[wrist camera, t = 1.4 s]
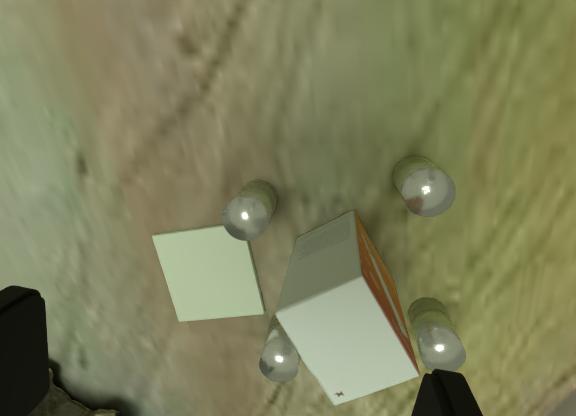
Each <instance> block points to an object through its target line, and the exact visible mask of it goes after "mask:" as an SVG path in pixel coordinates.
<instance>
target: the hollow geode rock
mask: <svg viewBox="0 0 576 416" xmlns="http://www.w3.org/2000/svg"><path fill="white" fill-rule="evenodd" d="M49 376H50V387H49V390H48V393H47V395H46V396H45V398H44V399H43V400H42V402H41V403H40V404H39V405H38V406H37V407H36V408H35V409H34V410H33V411H32V412H31V413H30V414H29V415H28V416H120V412H119V411H117V410H113V409H110V410H105V409H98V410H95V411H93V410H90V409H88V408H87V407H85V406H84V405H82V404H81V403H80V402H77V401H74V400H71V399H70V397H69V395H68V394H67V393H65V392H64V391H63V390H62V389H60V388H58V387H55V385H54V383H53V382H52V381H53V372H52V370H51V369H50V368H49Z"/></svg>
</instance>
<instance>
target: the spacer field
mask: <svg viewBox="0 0 576 416" xmlns="http://www.w3.org/2000/svg"><path fill="white" fill-rule="evenodd" d="M393 181H394V184H395V186H396V188H397V189H398V191H399V193H400V194H401V196H402V198H403V200H404V201H405V203H406V205H407V206H408V208H409V209H410V210H411V211H412V212H413V213H415V214H417V215H419V216H423V217H433V216H437V215H439V214H442V213H443V212H445V211H446V210H447V209H448V208H449V207H450V206H451V204H452V203H453V201H454V198H455V185H454V183H453V181H452V179H451V178H450V177H449V176H448V175H447V174H445V173H444V172H443V171H442V170H440V169H439V168H438V167H437V166H435V165H434V164H433V163H432V162H430V161H429V160H428V159H426V158H425V157H422V156H418V155H412V156H408V157H405V158H404V159H402V160H401V161H400V162H399V163H398V164H397V165H396V167H395V169H394V171H393ZM277 203H278V197H277V193H276V191H275V189H274V188H273V187H272V186H271V185H270V184H269V183H267V182H264V181H253V182H250V183H249V184H247V185H246V186H245V187H244V188H243V189H242V190H241V191H240V192H239V193H238V194H237V195H236V196H235V198H234V199H233V200H232V201H231V202H230V203H229V204H228V205H227V206H226V207H225V209H224V211H223V214H222V222H223V226H224V228H225V230H226V231H227V232H228V233H229V234H230V235H231V236H232V237H234V238H236V239H238V240H242V241H249V240H253V239H255V238H257V237H259V236H260V235H261V233H262V232H263V230H264V229H265V227H266V225H267V223H268V221H269V219H270V217H271V215H272V214H273V212H274V210H275V208H276V206H277ZM408 316H409V320H410V323H411V326H412V330H413V333H414V336H415V340H416V343H417V346H418V349H419V353H420V356H421V359H422V362H423V364H424V365H425V366H426V367H427V368H428V369H430V370H431V371H433V370H434V369H442V370H447V371H455V370H457V369H458V368H460V367H461V366H462V364H463V363H464V361H465V358H466V352H465V349H464V347H463V345H462V343H461V341H460V339H459V337H458V335H457V333H456V331H455V328H454V326H453V324H452V322H451V320H450V318H449V316H448V314H447V312H446V310H445V308H444V306H443V304H442V303H441V302H439V301H438V300H436V299H433V298H422V299H419V300H417V301H415V302H414V303H413V304H412V305H411V306H410V308H409V311H408ZM299 359H300V354H299V353H298V351H297V349H296V348H295V346H294V344H293V343H292V341H291V340H290V338H289V337H288V335H287V333H286V332H285V330H284V329H283V327H282V326H281V324H280V322H279V321H278V319H277V317H276V315H274V317H273V318H272V321H271V324H270V328H269V331H268V334H267V338H266V341H265V345H264V348H263V352H262V355H261V358H260V363H259V366H260V369H261V371H262V373H263V374H264V375H265V376H266V377H267V378H269V379H270V380H273V381H276V382H286V381H289V380H291V379H293V378H294V377H295V376H296V374H297V372H298V366H299Z"/></svg>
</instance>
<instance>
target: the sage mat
mask: <svg viewBox="0 0 576 416" xmlns="http://www.w3.org/2000/svg"><path fill="white" fill-rule="evenodd" d="M152 238H153V241H154V244H155V247H156V250H157V253H158V257H159V260H160V263H161V266H162V269H163V272H164V275H165V278H166V282H167V285H168V288H169V291H170V294H171V297H172V300H173V304H174V307H175V310H176V313H177V316H178V319H179V322H181V321H192V320H203V319H214V318H225V317H235V316H246V315H257V314H264V313H265V307H264V303H263V299H262V295H261V290H260V286H259V282H258V278H257V274H256V270H255V265H254V261H253V257H252V253H251V249H250V245H249V241H242V240H238V239H236V238H234V237H232V236H231V235H230V234H229V233H228V232H227V231H226V230H225V228H224V226H223V224H221V225H214V226H207V227H200V228H193V229H186V230H179V231H172V232H165V233H158V234H154V235H153V236H152Z"/></svg>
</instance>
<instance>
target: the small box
mask: <svg viewBox="0 0 576 416" xmlns="http://www.w3.org/2000/svg"><path fill="white" fill-rule="evenodd" d="M275 315H276V317H277V319H278V321H279V322H280V324H281V326H282V327H283V329H284V330H285V332H286V333H287V335H288V337H289V338H290V340H291V341H292V343H293V344H294V346H295V348H296V349H297V351H298V353H299V354H300V356H301V358H302V360H303V361H304V363H305V364H306V366H307V367H308V369H309V370H310V371H311V373H312V374H313V375H314V376H315V378H316V379H317V381H318V382H319V384H320V385H321V387H322V388H323V390H324V391H325V393H326V394H327V395H328V397H329V399H330V400H331V402H332V403H333V404H334V405H338V404H340V403H344V402H347V401H350V400H353V399H356V398H359V397H362V396H365V395H368V394H371V393H373V392H376V391H379V390H382V389H385V388H387V387H390V386H393V385H396V384H399V383H401V382H404V381H407V380H409V379H412V378H415V377H418V376H419V375H420V373H419V369H418V366H417V363H416V360H415V356H414V353H413V349H412V346H411V342H410V338H409V335H408V331H407V327H406V324H405V320H404V317H403V313H402V310H401V306H400V303H399V299H398V295H397V291H396V288H395V284H394V281H393V277H392V276H391V274H390V273H389V271H388V269H387V268H386V266H385V265H384V263H383V261H382V259H381V258H380V256H379V254H378V252H377V251H376V249H375V247H374V245H373V244H372V242H371V240H370V238H369V236H368V235H367V233H366V231H365V229H364V227H363V225H362V224H361V222H360V220H359V218H358V216H357V214H356V212H355V211H354V210H352V211H350V212H348V213H346V214H344V215H342V216H340V217H338V218H336V219H334V220H332V221H330V222H328V223H326V224H324V225H322V226H320V227H318V228H316V229H314V230H312V231H310V232H308V233H306V234H304V235H302V236H300V237H298V238H297V239H296V243H295V246H294V250H293V253H292V257H291V260H290V264H289V267H288V271H287V274H286V278H285V281H284V285H283V288H282V292H281V295H280V299H279V302H278V305H277V309H276V312H275Z"/></svg>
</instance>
